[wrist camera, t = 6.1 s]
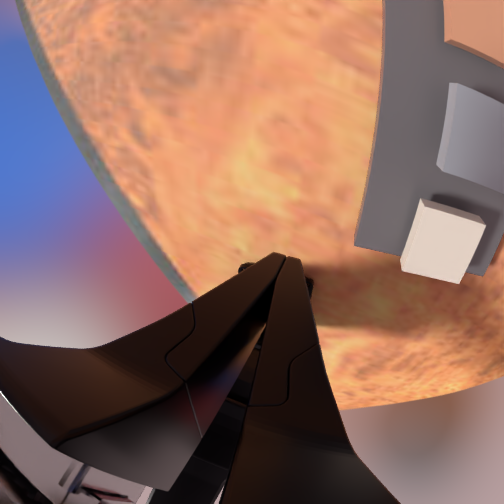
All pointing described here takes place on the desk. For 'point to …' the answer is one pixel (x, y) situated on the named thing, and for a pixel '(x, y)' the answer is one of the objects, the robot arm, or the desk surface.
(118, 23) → the desk surface
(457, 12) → the key terracotta
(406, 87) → the keypad board
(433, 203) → the key cream
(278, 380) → the robot arm
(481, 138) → the key slate
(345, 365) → the desk surface
